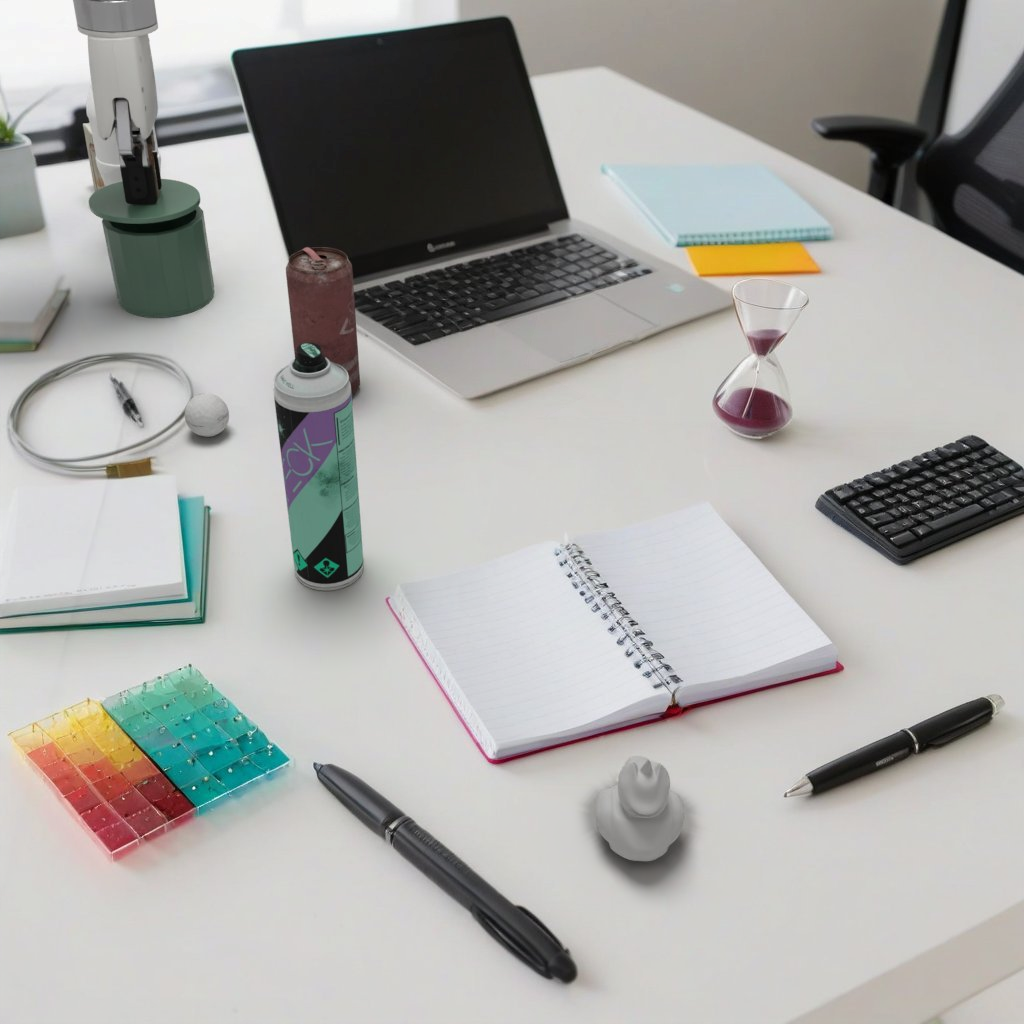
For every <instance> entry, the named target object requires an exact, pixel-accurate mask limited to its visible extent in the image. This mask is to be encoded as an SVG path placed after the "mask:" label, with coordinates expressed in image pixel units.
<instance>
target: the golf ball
mask: <svg viewBox="0 0 1024 1024" xmlns="http://www.w3.org/2000/svg"><path fill="white" fill-rule="evenodd" d="M184 420H185V422H186V425H187V427H188V428H189V429H190V430H191V431H192V432H193V433H194V434H196V435H197V436H200V437H207V438H208V437H215V436H217V435H219V434H220V433H222V432H223V431H224V430H225V429H226V427H227V425H228V424H229V422H230V410H229V407H228V405H227V404H226V402H225V401H224V400H223V398H221V397H220V396H218V395H216V394H214V393H209V392H208V393H207V392H205V393H200V394H197V395H195V396H193V397H192V398H191V399H190V400H189V401H188V403H187V405H186V406H185V409H184Z"/></svg>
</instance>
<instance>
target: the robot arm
mask: <svg viewBox="0 0 1024 1024" xmlns="http://www.w3.org/2000/svg"><path fill="white" fill-rule="evenodd" d="M72 2H73V8H74V14H75V20H76V27H77V31H78V32H79V33H80V34H83V35H85V36H87V52H88V64H89V73H90V82H91V84H92V91H93V98H94V106H95V113H96V121H97V128H98V135H99V137H100V138H101V139H102V140H107V139H108V138H110V136H111V134H112V132H113V130H114V127H115V132H116V140H117V146H118V153H119V160H120V170H121V176H122V182H123V188H124V194H125V200H126V202H127V203H128V204H155V203H157V200H158V197H157V190H156V183H155V177H154V170H153V165H149V156H148V149H147V143H149V144H151V145H152V150H153V151H155V141H154V134H153V126H154V127H155V123H156V120H157V117H158V113H159V104H158V92H157V83H156V76H155V69H154V61H153V55H152V50H151V45H150V37H149V35H150V34H152V33H153V32H156V31H157V30H158V29H159V23H158V15H157V9H156V8H157V7H156V2H155V0H72ZM134 143H140V149H139V147H138V146H135V145H134ZM153 157H154V163H155V170H156V177H157V184H158V190H160V189H161V187H162V182H161V179H162V177H161V176H160V175H161V171H160V169H159V162H158V155H157V152H153Z"/></svg>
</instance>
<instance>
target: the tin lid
mask: <svg viewBox="0 0 1024 1024" xmlns="http://www.w3.org/2000/svg"><path fill="white" fill-rule="evenodd" d="M134 145H135V146H138V147H139V149H140V143H134ZM147 149H148V156H149V165H153V170H154V177H155V183H156V190H157V197H158V200H157V203H155V204H128V203H127V202H126V200H125V194H124V188H123V182H118V183H114V184H111V185H108V186H105V187H103V188H101V189H99V190H97V191H96V192H95V191H94V192H93V193H92V194H91V195H90V197H89V198H88V206H89V210H90V212H91V213H92V214H93V215H94V216H96V217H98V218H100V219H101V220H103V219H105V220H108V221H113V222H118V223H129V224H146V223H156V222H163V221H168V220H172V219H176V218H179V217H182V216H184V215H186V214H188V213H190V212H192V211H194V210H195V209H196V208H197V207H198V206H199V207H200V204H201V194H200V191H199V190H198V189H197V188H196V186H195V187H194V186H193V185H191V184H189V183H187V182H183V181H180V180H175V179H170V178H161V182H162V187H161V189H160V190H158V184H157V177H156V170H155V163H154V157H153V150H152V145H151V144H149V143H147Z"/></svg>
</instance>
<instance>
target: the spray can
mask: <svg viewBox="0 0 1024 1024" xmlns="http://www.w3.org/2000/svg"><path fill="white" fill-rule="evenodd" d="M273 385H274V386H273V390H272V392H273V398H274V407H275V414H276V415H275V416H276V426H277V433H278V440H279V441H278V442H279V448H280V449H279V450H280V457H281V465H282V475H283V483H284V490H285V491H284V492H285V498H286V499H285V500H286V508H287V516H288V518H287V519H288V526H289V533H290V541H291V550H292V559H293V567H294V573H295V576H296V579H297V580H298V581H299V583H301V584H302V585H303V586H305V587H307V588H309V589H312V590H316V591H326V592H327V591H337V590H340V589H344V588H346V587H349V586H350V585H352V584H354V583H355V582H356V581H358V579H359V578H360V577H361V576H362V574H363V572H364V551H363V548H364V547H363V537H362V536H363V535H362V521H361V520H362V519H361V508H360V493H359V479H358V466H357V451H356V439H355V438H356V436H355V426H354V425H355V423H354V410H353V396H352V394H351V384H350V381H349V375H348V372H347V371H346V369H344V368H343V367H342V366H340V365H339V364H336V363H334V362H330V361H329V360H328V359H327V358H326V357H324V356H323V355H322V351H321V347H320V346H319V345H318V344H315V343H303V344H301V345H299V346H298V347H297V357H296V358H295V357H294V358H293V359H292V360H291V361H290V363H289V364H287V365H285V366H283V367H282V368H280V369H279V370H278V371H277V372H276V373H275V375H274V377H273Z"/></svg>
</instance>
